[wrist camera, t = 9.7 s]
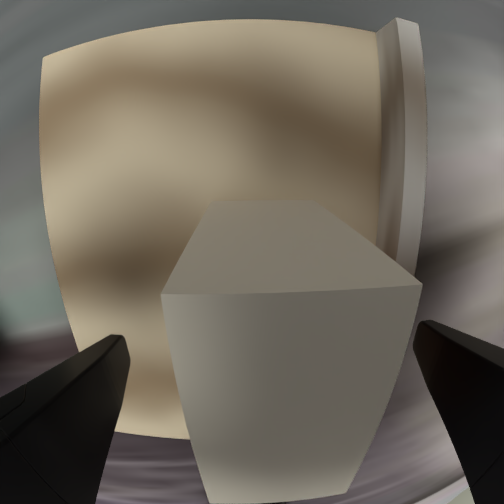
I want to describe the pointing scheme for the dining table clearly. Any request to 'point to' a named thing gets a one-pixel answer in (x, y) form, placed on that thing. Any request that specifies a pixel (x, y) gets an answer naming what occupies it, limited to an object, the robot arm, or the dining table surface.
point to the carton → (284, 347)
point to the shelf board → (217, 162)
